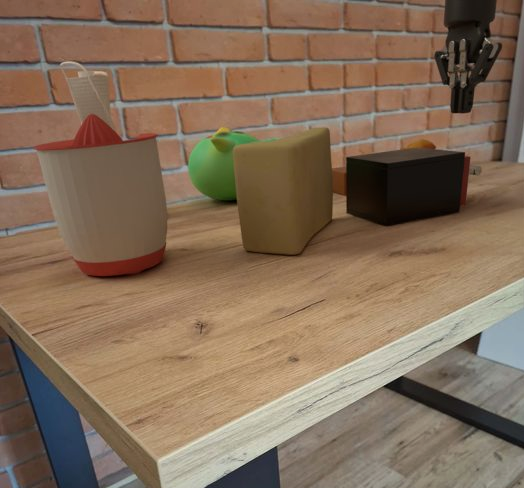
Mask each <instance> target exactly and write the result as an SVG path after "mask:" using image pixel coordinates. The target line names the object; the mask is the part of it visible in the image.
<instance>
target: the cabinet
mask: <svg viewBox="0 0 524 488" xmlns="http://www.w3.org/2000/svg"><path fill="white" fill-rule="evenodd" d="M401 149H402V148H401ZM465 156H466V151H457V150H445V149H437V148H435V149H427V148H417V147H416V148H409V149H402V150H400V149H396V150H388V151H380V152H374V153H373V152H372V153H366V154H358V155H352V156H346V157H345V167H346V195H345V197H346V198H345V199H346V201H345V203H346V204H345V205H346V206H345V207H346V210H345V211H346V214H349V215H351V216H355V217H356V218H360V219H364V220H367V221H370V222H372V223H375V224H379V225H381V226H385V227H389V226H390V227H391V226H393V225H399V224H406V223H410V221H411V222H416V221H420V220H421V221H422V220H426V219H433V218H436V217H442V216H447V215H452V214H453V215H454V214H457V213H460V210H461V206H460V202H461V192H462V181H463V171H464V160H465V158H464V157H465ZM405 222H406V223H405Z"/></svg>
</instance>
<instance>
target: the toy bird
mask: <svg viewBox="0 0 524 488" xmlns="http://www.w3.org/2000/svg"><path fill="white" fill-rule="evenodd" d="M281 138H282V137H273V138H268V139H263V140H259V139H258V138H257V137H255V136H253V135H251V134H249V133H246V132H243V131H237V130H233V131H232V130H231V129H230V128H229V127H227V126H221V127H219V129H217V131H216V132H215V133H214V134H210V135H208V136H207V137H204V138H203V139H201V140H200V141H199V142H198V143H197V144H196V145H195V146H194V147H193V148H192V151H191V153H190V155H189V158H188V163H187V165H188V166H187V170H188V171H187V172H188V175H189V178H190V181H191V183H192V185H193V186H194V187H195V189H196V190H198V192H200V193H201V194H202V195H204V196H206V197H207V198H210V199H213V200H218V201H237V196H236V185H235V174H234V162H233V149H234V147H235V146H238V145H241V144H247V143H254V142H266V141H273V140H277V139H281Z"/></svg>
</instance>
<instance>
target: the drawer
mask: <svg viewBox="0 0 524 488" xmlns="http://www.w3.org/2000/svg"><path fill="white" fill-rule="evenodd" d="M464 158H465V160H464V171H463V181H462V192H461V202H460V207H463V206H466V205H467V196H468V186H469V178H470V177H469V176H471V175H472V176H480V175H481V174H482V171H483V168H482V166H480V165H472V164H471V155H470V156H468V155H465V157H464Z"/></svg>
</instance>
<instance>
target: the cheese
mask: <svg viewBox="0 0 524 488" xmlns="http://www.w3.org/2000/svg"><path fill="white" fill-rule="evenodd" d="M280 138H281V139H277V140H273V141H266V142H254V143H247V144H241V145H238V146H235V147H234V149H233V162H234V174H235V185H236V196H237V200H236V203H237V210H238V212H237V213H238V219H239V227H240V235H241V241H242V248H243V249H244V251H246V252H247V251H248V252H253V253H264V254H273V255H275V254H276V255H287V256H289V255H290V256H291V255H293V256H295V255H298V254H301V253H302V251H303V250H304V248H305V247H306V246H307V244H308V243H309V241H310V240H311V238H312V237H313V236H314V235H315V234H317V233H318V232H319V231H320V230H322V229H323V228H325V227H326V225H327V224H329V222H331V221H332V219H333V209H334V205H333V204H334V192H333V179H332V168H333V166H332V163H333V162H332V151H331V150H332V148H331V131H330V129H329V128H328V127H324V126H323V127H312V128H309V129H306V130H304V131H301V132H298V133H294V134H291V135H287V136H285V137H280Z"/></svg>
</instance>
